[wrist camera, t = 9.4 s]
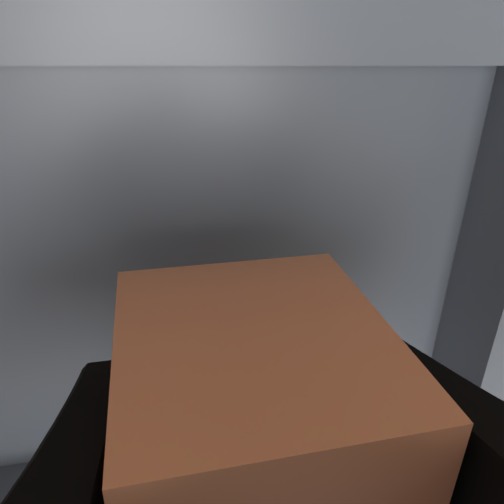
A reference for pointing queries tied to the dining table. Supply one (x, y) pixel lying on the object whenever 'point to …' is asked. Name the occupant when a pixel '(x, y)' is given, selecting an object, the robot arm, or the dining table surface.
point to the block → (270, 392)
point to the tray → (245, 170)
